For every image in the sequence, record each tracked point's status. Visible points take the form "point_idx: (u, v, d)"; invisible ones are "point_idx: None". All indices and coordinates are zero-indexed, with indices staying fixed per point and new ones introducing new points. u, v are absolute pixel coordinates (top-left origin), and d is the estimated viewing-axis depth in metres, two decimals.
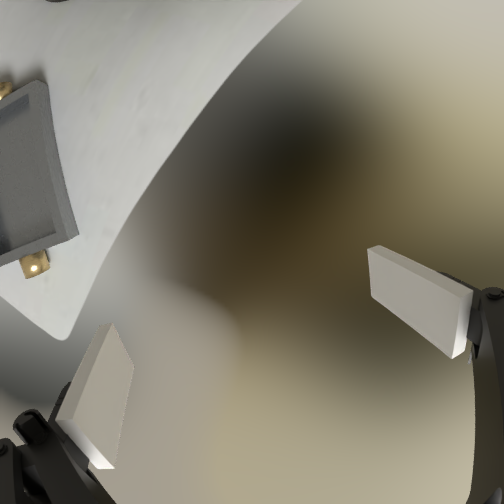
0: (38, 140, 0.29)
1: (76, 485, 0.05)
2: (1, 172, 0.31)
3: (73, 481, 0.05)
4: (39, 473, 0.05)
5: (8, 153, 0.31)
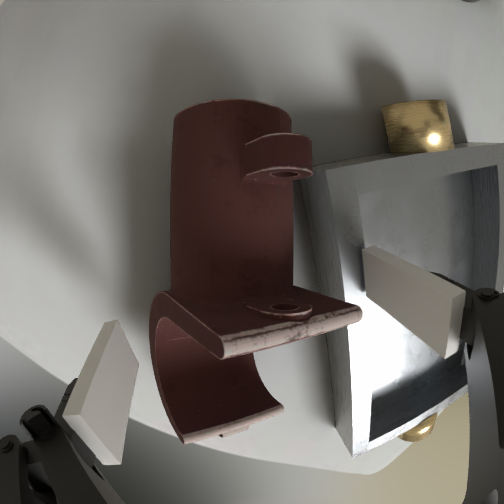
0: (502, 258, 0.18)
1: (82, 481, 0.05)
2: None
3: (79, 478, 0.05)
4: (45, 469, 0.05)
5: (418, 259, 0.19)
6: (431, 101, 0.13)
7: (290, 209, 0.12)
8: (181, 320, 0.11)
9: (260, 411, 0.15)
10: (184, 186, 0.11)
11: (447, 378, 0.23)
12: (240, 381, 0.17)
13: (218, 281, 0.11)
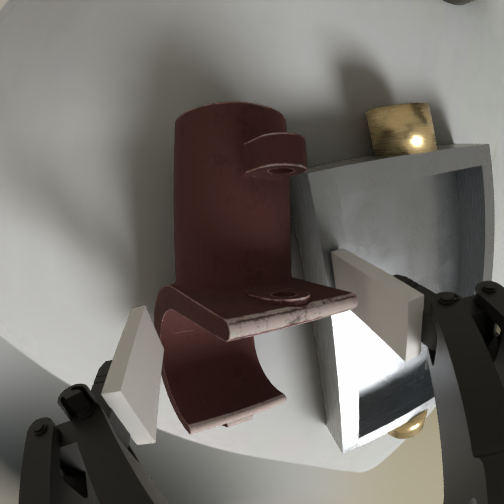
0: (488, 257, 0.19)
1: (119, 463, 0.05)
2: None
3: (116, 459, 0.05)
4: (80, 448, 0.06)
5: (404, 258, 0.20)
6: (413, 104, 0.14)
7: (287, 204, 0.13)
8: (187, 310, 0.12)
9: (263, 401, 0.16)
10: (187, 184, 0.12)
11: None
12: (243, 373, 0.18)
13: (221, 272, 0.12)
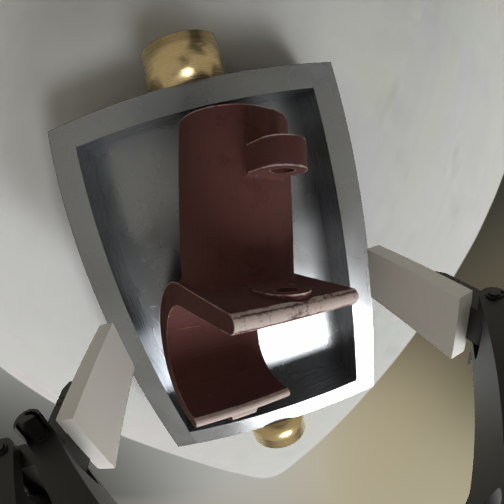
0: (350, 215, 0.17)
1: (76, 485, 0.05)
2: None
3: (74, 481, 0.05)
4: (39, 473, 0.05)
5: None
6: (168, 36, 0.12)
7: (289, 202, 0.14)
8: (192, 305, 0.12)
9: (267, 394, 0.16)
10: (192, 184, 0.13)
11: (315, 377, 0.22)
12: (247, 367, 0.18)
13: (226, 268, 0.12)
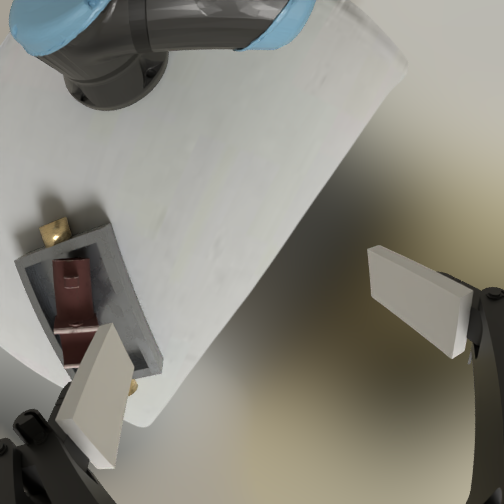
0: (120, 293, 0.38)
1: (76, 485, 0.05)
2: None
3: (73, 482, 0.05)
4: (39, 473, 0.05)
5: None
6: (43, 226, 0.33)
7: (83, 292, 0.34)
8: None
9: None
10: (54, 286, 0.33)
11: (135, 363, 0.43)
12: None
13: (62, 314, 0.33)
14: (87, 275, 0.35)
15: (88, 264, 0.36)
